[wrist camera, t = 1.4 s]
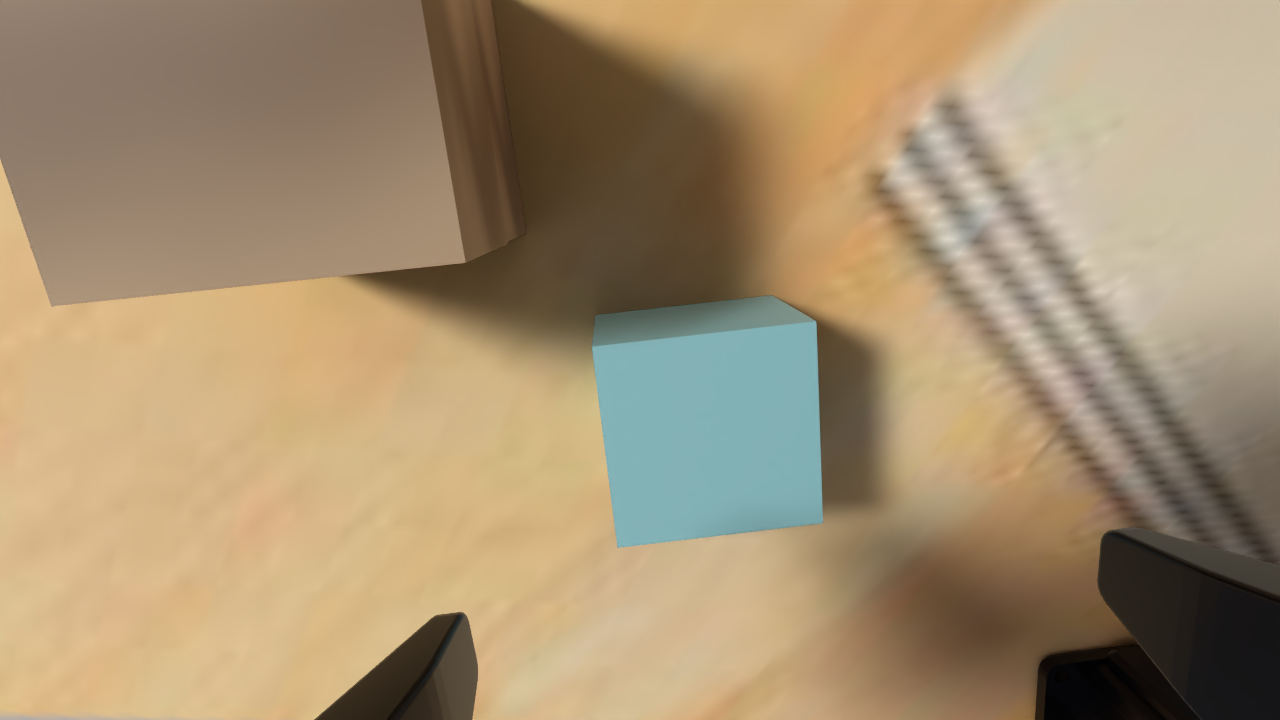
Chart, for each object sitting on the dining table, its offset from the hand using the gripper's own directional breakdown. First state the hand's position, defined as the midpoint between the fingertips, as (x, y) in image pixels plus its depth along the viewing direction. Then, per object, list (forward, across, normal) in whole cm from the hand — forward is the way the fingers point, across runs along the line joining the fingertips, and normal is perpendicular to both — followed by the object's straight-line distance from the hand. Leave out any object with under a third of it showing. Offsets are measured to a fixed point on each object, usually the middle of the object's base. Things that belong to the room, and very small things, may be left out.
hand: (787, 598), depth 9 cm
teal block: (+10, 0, 0) cm, 10 cm away
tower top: (+6, +7, -8) cm, 12 cm away
